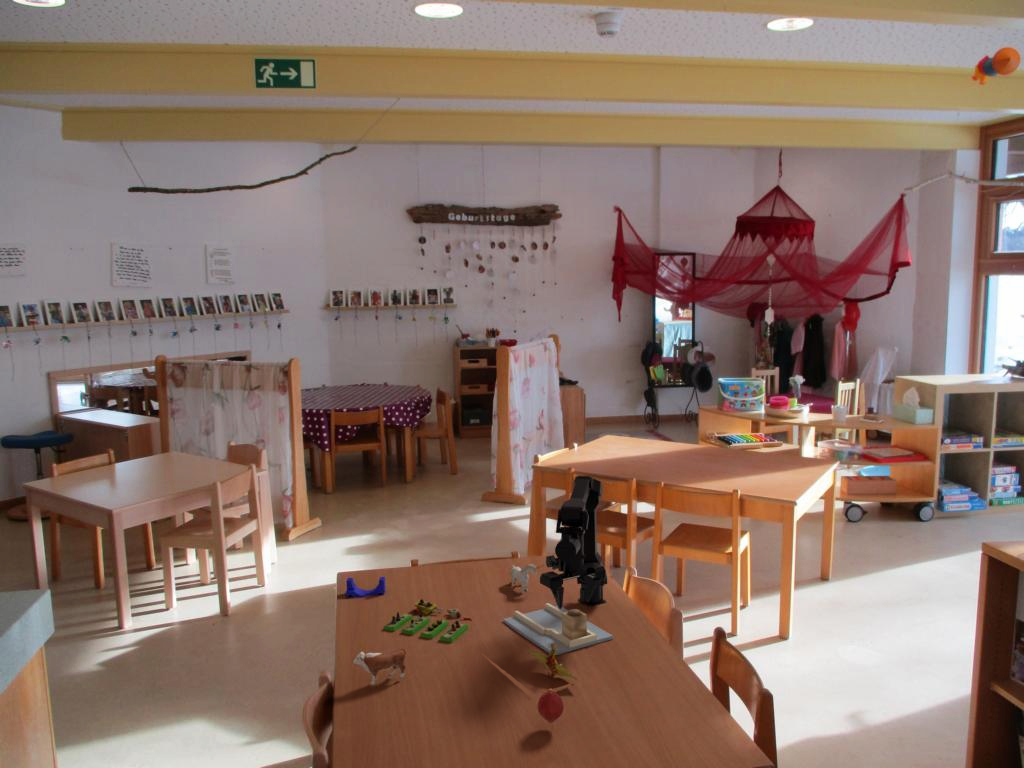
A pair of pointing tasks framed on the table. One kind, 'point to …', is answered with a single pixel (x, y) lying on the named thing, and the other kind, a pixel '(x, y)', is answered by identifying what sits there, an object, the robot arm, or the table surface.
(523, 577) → the unicorn figurine
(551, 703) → the onion
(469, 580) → the table surface
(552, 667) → the origami crane
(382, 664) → the bull figurine
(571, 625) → the stud block
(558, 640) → the keyhole board
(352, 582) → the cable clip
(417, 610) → the toy garden set
